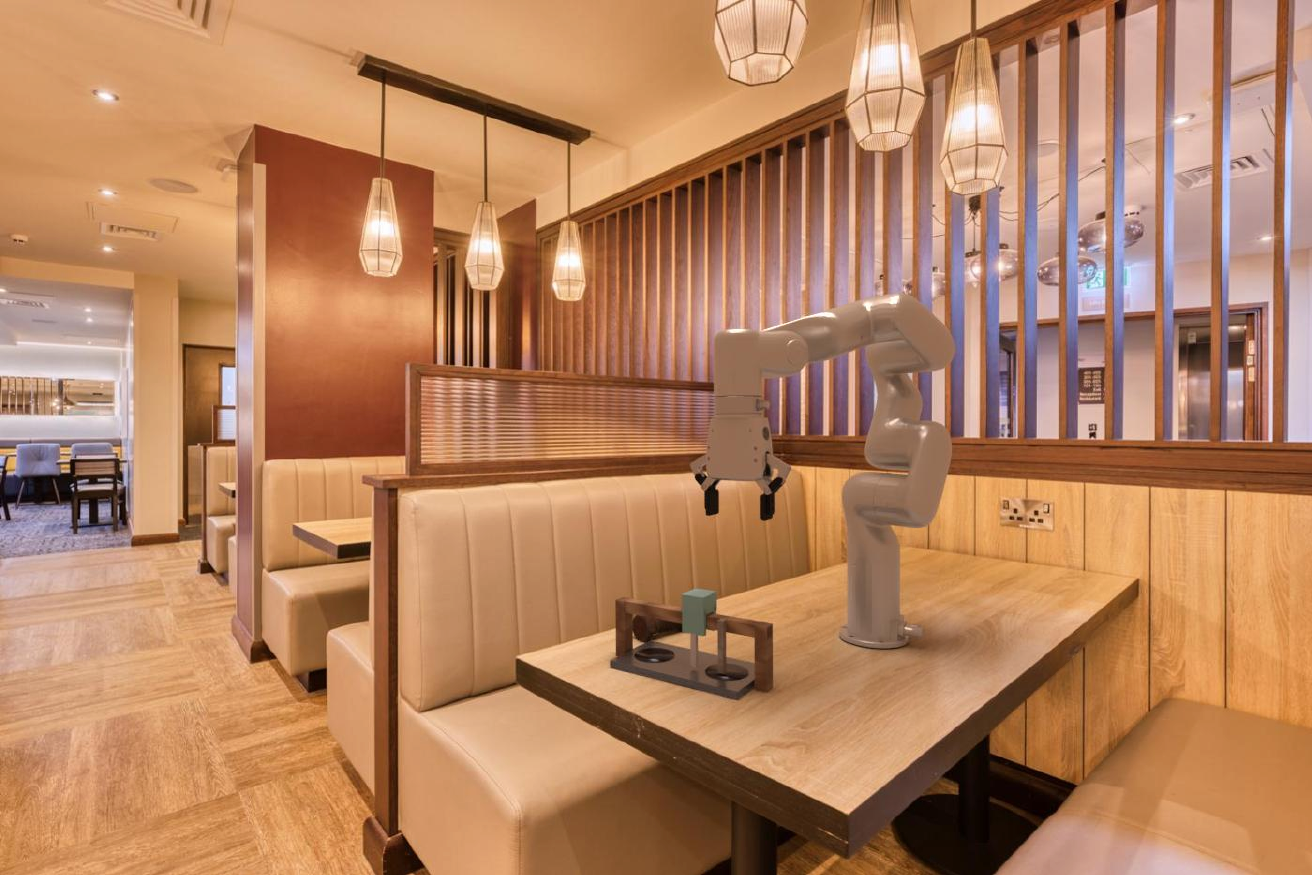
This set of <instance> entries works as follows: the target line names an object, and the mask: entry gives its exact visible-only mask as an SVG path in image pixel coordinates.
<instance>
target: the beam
mask: <svg viewBox="0 0 1312 875" xmlns="http://www.w3.org/2000/svg"><path fill="white" fill-rule="evenodd" d="M614 601H615V604H614V605H615V607H614V609H615V612H614V613H615V614H614V615H615V657H618V656H620V655H622V654H624V653H626V652H628V651H630V650H632V649H634V648H633V647H634V639H633V638H634V634H633V619H634V617H633V616H634V615H640V616H645V617H650V618H656V619H661V620H666V621H671V622H676V623H681V624H682V608H681V607H682V606H674V605H669V604H664V603H660V602H659V603H658V602H652V601H646V600H641V599H635V598H631V597H627V596H622V597H618V598H616V599H615V600H614ZM706 628H707V629H712V630H715V631H717V633H716V634H717V640H716V641H717V642H716V643H717V655H718V673H722V674H724V673H725V672H726V657H727V633H728V634H733V635H734V634H735V635H739V636H743V637H750V638H753V639H754V663H755V687H754V691H758V692H763V693H768V692H769V691H771V690H772V689H773V688H774V623H771V622H766V621H758V620H753V619H748V618H747V619H746V618H742V617H736V616H730V615H724V614H720V613H716V614H715V613H709V614H707V615H706ZM707 629H706V630H707ZM712 630H711V631H712Z"/></svg>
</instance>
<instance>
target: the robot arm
mask: <svg viewBox="0 0 1312 875" xmlns="http://www.w3.org/2000/svg"><path fill="white" fill-rule="evenodd" d="M714 336H715V337H714V340H713V399H714V400H713V404H714V406H713V407H714V408H713V409H714V410H713V411H714V414H713V415H714V416H713V417H711V418H710V422H709V427H708V431H707V440H706V453H705V454H703V455H702V456H700V457H698V458H696V459H695V460H693V461H692V462H691V463H689V465H690V466H689V467H690V468H691V471H692V474H693V475H694V479H695V481H696V482H697V483H698V484H699V485H700V489H701V491H703V493H704V494H703V496H704V497H703V498H704V499H703V500H704V501H703V505H704V509H705V510H704V512H705V516H707V517H711V516H715V515H718V514H719V512H720V495H719V494H720V492H719V489H717V486H718V485H719V484H720V482H721V481H734V482H735V481H736V482H755V483H756V484H757V485H758V487H759V488H760V490H761V491H762V494H760V496H759V519H760V521H762V522H763V521H765V522H766V521H769V520H772V519H774V515H775V513H776V494H777V493H778V491H779V490H780V488H782V487H783V486H784V484H785V483H786V480H787V478H788V476H789V474H790V472H791V471H792V466H791V465H790V464H789V463H786V462H785V461H783V460H782V459H780V458H778V457H777V456H774V448H773V439H772V433H771V428H770V427H771V426H770V422H769V418H768V416H767V417H764V416H763V414H764V411H765V410H769V409H771V408H770V407H771V403H770V401H769V400H765V399H764V397H763V380H764V379H765V380H766V379H768V380H769V379H780V378H789V377H792V376H794V375H797V374H799V373H800V372H801V371H803V369H804V368H805V367H806V365H807V364H813V363H821V362H826V361H830V360H834V359H837V358H839V357H842V356H844V355H846V354H850V353H852V352H855V351H856V350H859V349H863V348H864V347H865V361H866V364H867V366H868V369H869V371H870V372H871V375H872V377H873V381H874V382H875V386H876V390H877V401H876V404H875V405H876V406H875V409H874V412H873V416H872V419H871V423H870V426H869V429H868V432H867V436H866V440H865V444H864V448H863V449H864V458H865V460H866V462H867V463H868V464H869V465H871V466H873V467H875V468H876V469H877V468H878V469H883V470H889V471H902V472H903V471H904V472H905V471H906V472H908V473H907V474H901V473H891V472H877V471H876V472H875V471H864V472H863V471H862V472H859V473H855V474H853V475H851V476H850V477H849V478H848V479H847V480H846V481H845V483H844V484H843V486H842V489H841V505H842V510H843V513H844V518H845V520H844V521H845V525H846V526H845V527H846V538H847V540H846V541H847V542H846V543H847V553H846V554H847V555H846V556H847V557H846V559H847V560H846V561H847V562H846V564H847V565H846V566H847V570H846V572H847V573H846V574H847V578H846V579H847V583H846V584H847V590H846V591H847V597H846V598H847V599H846V601H847V602H846V603H847V611H846V612H847V623H846V624H843V625H841V626H840V627H839V628H838V635H839V637H840V639H842V640H843V641H845V642H847V643H848V644H849V643H850V644H852V645H856V646H858V647H864V648H871V649H895V648H900V647H903V646H906V645H907V644H909V642H910V641H909V638H910V637H912V638H917V639H924V637H925V628H924V627H921V624H918V623H908V621H905V615H904V614H901V548H900V547H901V546H900V542H899V539H898V536H897V534H896V533H895V530H894V528H893V527H903V528H909V529H922V528H926V527H927V526H929V525H930V524H931V523H932V522H933V521H934V519H935V517H936V515H937V514H938V511H939V507H940V503H941V500H942V496H943V492H944V488H945V485H946V480H947V477H948V474H949V469H950V466H951V465H950V464H951V460H952V454H953V443H952V437H951V433H950V432H949V430H948V429H947V427H945V425H943V424H942V423H941V422H938V421H934V420H926V419H925V420H921V415H922V411H923V406H924V401H923V396H922V393H921V391H920V389H918V387H917V385H916V384H915V383H914V381H913V380H912V378H911V376H910V375H909V374H912V373H913V374H915V373H916V374H917V373H927V372H937V371H941V370H944V369H945V368H947V367H948V366H949V365H950V364H951V363H952V361H953V359H954V358H955V353H956V346H955V340H954V338H953V335H952V333H951V332H950V329H949V328H947V326H946V325H945V324H944V323H943V322H942V321H941V320H940V318H938V317H937V316H936V315H935V314H934V313H933V312H932V311H931V310H930V309H929V308H928V307H927V306H926V305H924V304H923V303H922V302H921V301H919V299H917V298H916V297H915V296H912V295H910V294H908V293H905V292H894V293H890V294H883V295H879V296H873V297H867V298H863V299H862V298H861V299H858V300H854V301H852V302H849V303H845V304H843V305H842V304H841V305H840V306H835V307H834V308H830V309H827V310H824V311H821V312H818V313H813V314H810V315H807V316H804V317H801V318H798V319H795V320H792V321H789V322H786V323H781V324H779V325H775V326H772V327H768V328H764V329H762V330H758V331H757V330H755V329H751V328H729V329H728V328H727V329H723V330H721V331H719V332H717V333H716V334H715V335H714ZM704 466H705V469H706V470H705V471H706V473H705V472H704V470H703V467H704ZM775 469H776V471H777V474H776V477H775V478H774V479H772V478H773V477H774V474H775V473H774V472H775V471H774V470H775ZM892 526H893V527H892Z"/></svg>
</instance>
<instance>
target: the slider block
mask: <svg viewBox="0 0 1312 875" xmlns="http://www.w3.org/2000/svg"><path fill="white" fill-rule="evenodd" d="M681 607H682V633H685V634H689V635H690V638H689V640H690V641H689V642H690V645H689V647H690V648H689V649H690V664H691V666H692V667H697V666H698V651H699V636H700V637H706V636H707V630H708V631H712V632H714V631H715V632H716V630H712V629H707V628H706V615H707V614H709V613H715V614H717V610H718V609H717V591H714V590H710V589H709V590H708V589H702V588H696V587H695V588H692V589H691V590H689V591H686V592H684V593H681Z"/></svg>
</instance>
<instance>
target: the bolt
mask: <svg viewBox="0 0 1312 875" xmlns="http://www.w3.org/2000/svg"><path fill="white" fill-rule="evenodd" d="M680 607H681V608H682V606H680ZM634 615H635V614H634ZM670 631H678V632H682V624H681V623H676V622H671V621H666V620H661V619H656V618H650V617H645V616H640V615H635V616H634V617H633V637H634V638H635V639H636V640H637V641H639V642H641V643H646V642H648V641H650V640H651V641H653V637H654V636H655V635H657V634H661V633H666V632H670ZM682 633H683V632H682Z"/></svg>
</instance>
